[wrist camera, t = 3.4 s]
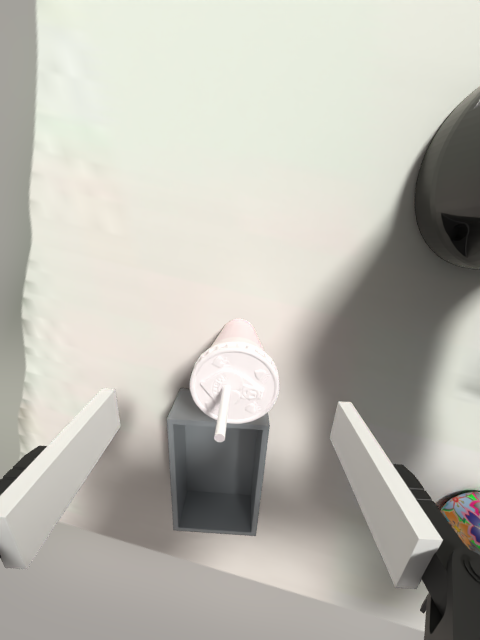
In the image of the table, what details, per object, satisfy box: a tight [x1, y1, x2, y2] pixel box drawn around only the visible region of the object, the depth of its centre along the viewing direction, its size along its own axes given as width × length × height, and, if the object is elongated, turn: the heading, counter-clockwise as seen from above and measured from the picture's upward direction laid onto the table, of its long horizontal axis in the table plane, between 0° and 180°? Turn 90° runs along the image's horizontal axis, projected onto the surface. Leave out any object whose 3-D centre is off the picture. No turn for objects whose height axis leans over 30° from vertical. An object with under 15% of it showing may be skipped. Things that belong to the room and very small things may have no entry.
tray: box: [167, 388, 270, 536], centre depth 28 cm, size 17×10×5 cm, turn 177°
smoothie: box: [190, 319, 279, 442], centre depth 19 cm, size 6×6×14 cm
